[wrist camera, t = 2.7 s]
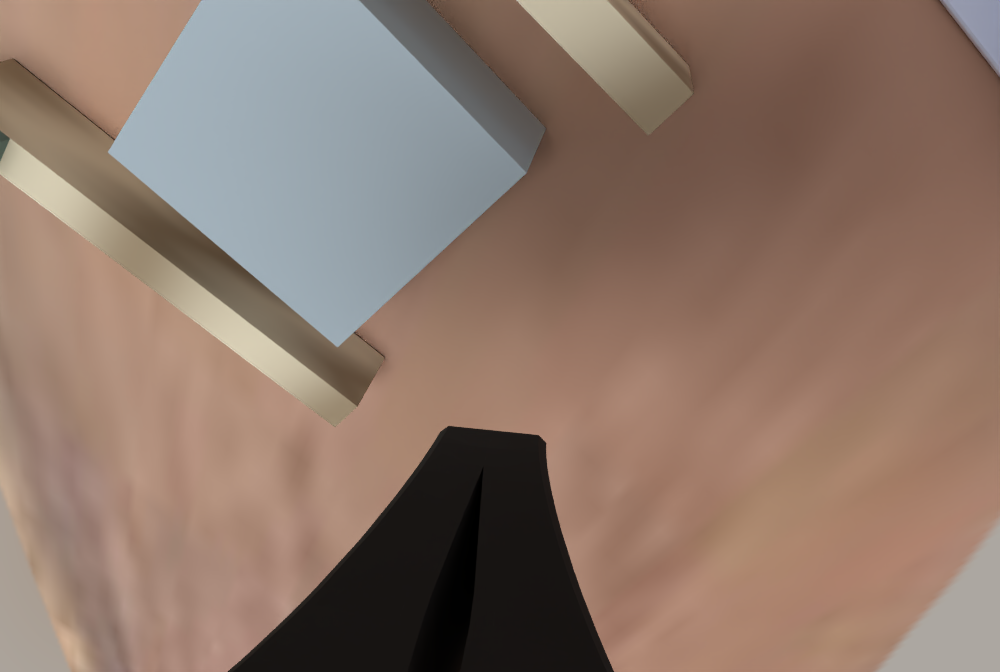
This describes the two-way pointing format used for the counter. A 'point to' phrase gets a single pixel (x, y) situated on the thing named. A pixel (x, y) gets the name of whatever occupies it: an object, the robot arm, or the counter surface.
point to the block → (327, 144)
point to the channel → (218, 277)
